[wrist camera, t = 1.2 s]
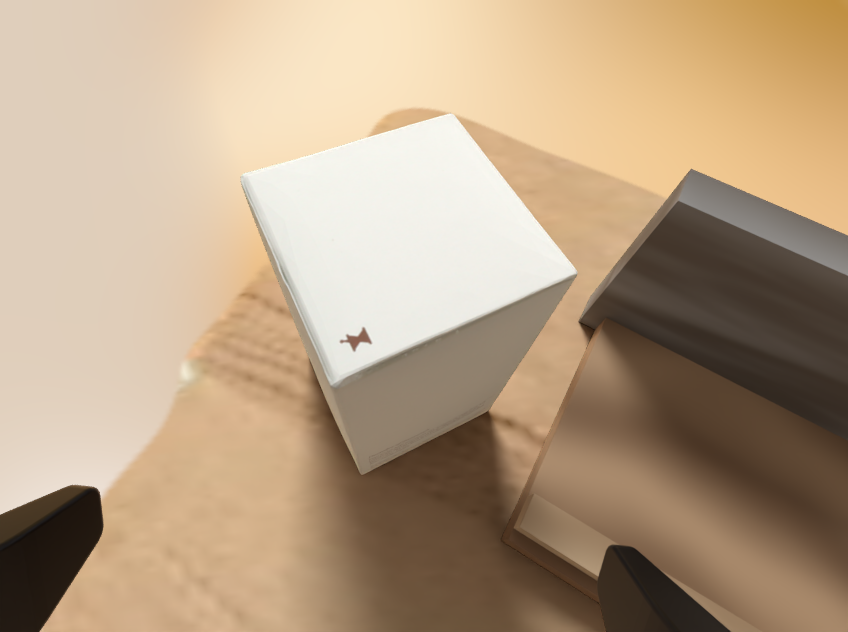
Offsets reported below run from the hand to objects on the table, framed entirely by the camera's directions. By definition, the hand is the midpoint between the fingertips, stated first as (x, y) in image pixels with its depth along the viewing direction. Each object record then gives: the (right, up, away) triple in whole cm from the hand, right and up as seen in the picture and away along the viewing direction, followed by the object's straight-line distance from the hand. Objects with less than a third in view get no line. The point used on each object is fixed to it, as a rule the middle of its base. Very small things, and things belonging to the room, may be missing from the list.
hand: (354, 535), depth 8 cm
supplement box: (0, 0, +16) cm, 16 cm away
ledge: (+16, -5, +13) cm, 22 cm away
